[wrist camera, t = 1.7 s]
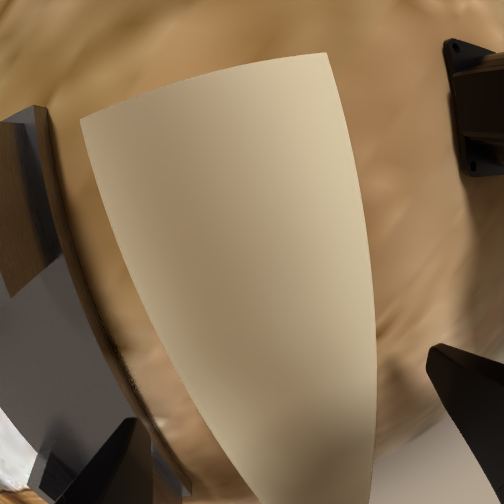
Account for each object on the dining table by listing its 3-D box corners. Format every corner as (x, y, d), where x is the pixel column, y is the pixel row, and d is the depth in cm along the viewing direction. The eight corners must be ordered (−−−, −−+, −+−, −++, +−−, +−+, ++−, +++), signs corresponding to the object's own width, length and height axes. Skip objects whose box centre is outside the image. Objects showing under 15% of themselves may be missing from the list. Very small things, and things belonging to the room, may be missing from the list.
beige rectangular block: (262, 104, 10) (326, 52, 4) (330, 420, 15) (368, 503, 9) (149, 136, 9) (79, 119, 4) (262, 441, 15) (283, 530, 9)
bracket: (46, 107, 8) (-20, 95, 4) (191, 484, 16) (193, 533, 12) (-77, 181, 8) (-129, 197, 4) (79, 481, 15) (70, 522, 11)
